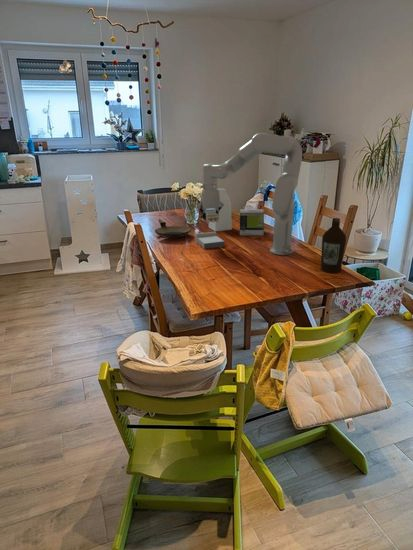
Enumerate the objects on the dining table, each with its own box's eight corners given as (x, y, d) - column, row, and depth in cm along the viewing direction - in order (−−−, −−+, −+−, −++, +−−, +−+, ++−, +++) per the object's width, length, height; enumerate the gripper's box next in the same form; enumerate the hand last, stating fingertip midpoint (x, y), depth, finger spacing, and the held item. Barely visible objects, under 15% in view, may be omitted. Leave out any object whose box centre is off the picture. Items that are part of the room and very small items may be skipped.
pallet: (218, 221, 219) (218, 214, 218) (207, 223, 217) (207, 215, 216) (212, 218, 228) (212, 211, 227) (202, 219, 226) (202, 212, 225)
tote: (215, 214, 220) (215, 210, 219) (208, 214, 218) (208, 211, 217) (212, 212, 225) (212, 208, 224) (204, 212, 223) (204, 208, 223)
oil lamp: (157, 244, 231) (156, 231, 228) (153, 230, 258) (152, 219, 255) (194, 241, 235) (194, 228, 232) (186, 228, 262) (186, 217, 259)
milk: (224, 225, 269) (225, 186, 259) (231, 229, 259) (232, 189, 249) (208, 227, 265) (208, 188, 255) (215, 231, 255) (215, 191, 245)
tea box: (263, 231, 253) (264, 208, 247) (263, 235, 244) (264, 212, 238) (239, 231, 254) (240, 208, 249) (239, 235, 245) (239, 212, 240)
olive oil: (322, 264, 195) (327, 215, 186) (344, 268, 190) (350, 217, 181) (316, 271, 186) (322, 220, 177) (339, 275, 182) (346, 222, 172)
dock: (224, 246, 224) (224, 238, 222) (204, 248, 221) (204, 240, 219) (215, 239, 237) (215, 231, 235) (196, 241, 233) (196, 233, 231)
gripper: (197, 189, 210) (197, 221, 217) (227, 187, 215) (227, 219, 222) (193, 187, 216) (193, 218, 223) (222, 185, 222) (222, 216, 228)
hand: (210, 218), depth 222 cm, fingers closed on pallet, 6 cm apart
